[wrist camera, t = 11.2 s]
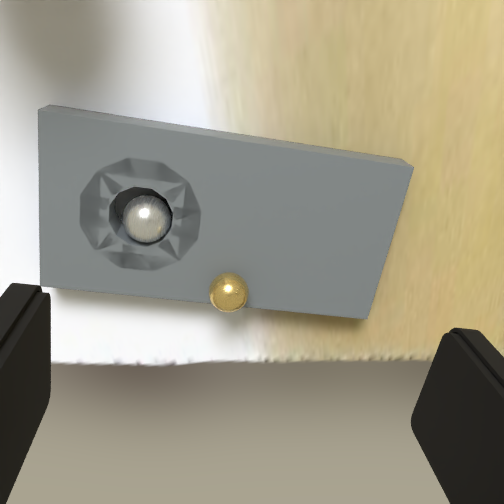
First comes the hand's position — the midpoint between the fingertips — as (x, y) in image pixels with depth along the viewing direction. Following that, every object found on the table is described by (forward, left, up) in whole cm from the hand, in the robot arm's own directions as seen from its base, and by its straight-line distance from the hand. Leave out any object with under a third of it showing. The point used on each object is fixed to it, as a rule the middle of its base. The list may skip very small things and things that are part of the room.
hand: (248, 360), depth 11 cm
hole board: (-1, +6, -26) cm, 27 cm away
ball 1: (+5, +6, -25) cm, 26 cm away
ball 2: (-2, +11, -22) cm, 25 cm away
